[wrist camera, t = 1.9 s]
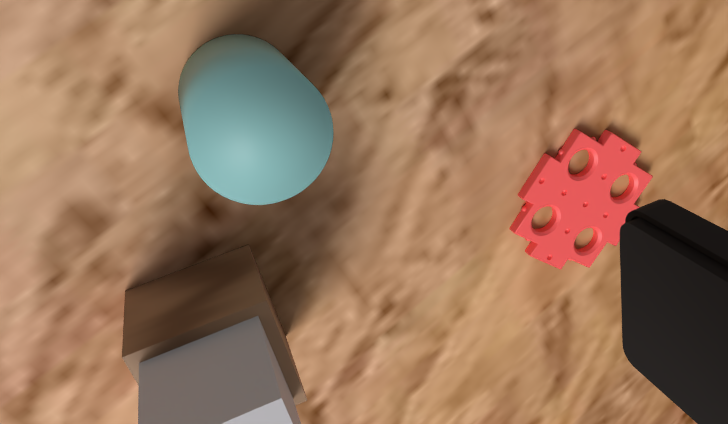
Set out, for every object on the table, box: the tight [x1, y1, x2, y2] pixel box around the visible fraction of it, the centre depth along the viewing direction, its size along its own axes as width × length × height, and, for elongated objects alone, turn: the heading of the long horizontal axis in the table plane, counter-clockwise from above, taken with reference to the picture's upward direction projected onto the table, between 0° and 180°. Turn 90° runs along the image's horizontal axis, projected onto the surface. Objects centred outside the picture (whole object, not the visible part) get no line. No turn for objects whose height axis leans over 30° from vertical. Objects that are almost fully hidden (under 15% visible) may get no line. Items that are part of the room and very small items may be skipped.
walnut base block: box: [122, 244, 307, 405], centre depth 28 cm, size 6×6×5 cm
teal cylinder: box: [178, 34, 333, 205], centre depth 23 cm, size 5×5×6 cm
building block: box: [510, 129, 653, 269], centre depth 34 cm, size 1×8×8 cm
